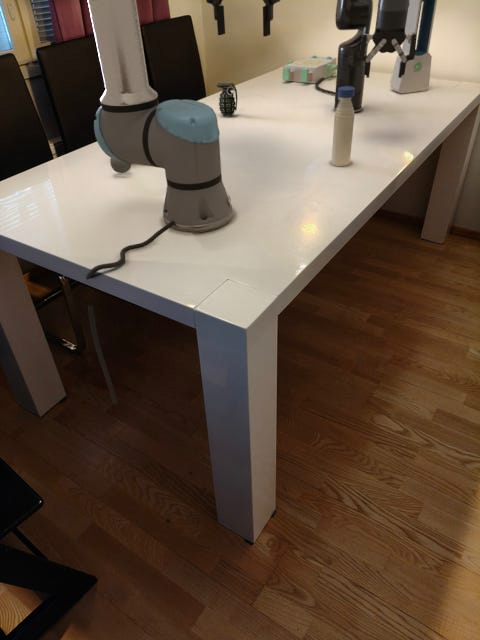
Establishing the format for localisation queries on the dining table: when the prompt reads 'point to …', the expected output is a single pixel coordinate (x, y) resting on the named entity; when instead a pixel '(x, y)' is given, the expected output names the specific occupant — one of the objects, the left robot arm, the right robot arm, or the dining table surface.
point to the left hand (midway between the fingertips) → (243, 35)
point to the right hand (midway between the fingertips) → (383, 77)
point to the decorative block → (310, 69)
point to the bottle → (343, 132)
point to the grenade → (227, 99)
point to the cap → (346, 92)
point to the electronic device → (421, 64)
